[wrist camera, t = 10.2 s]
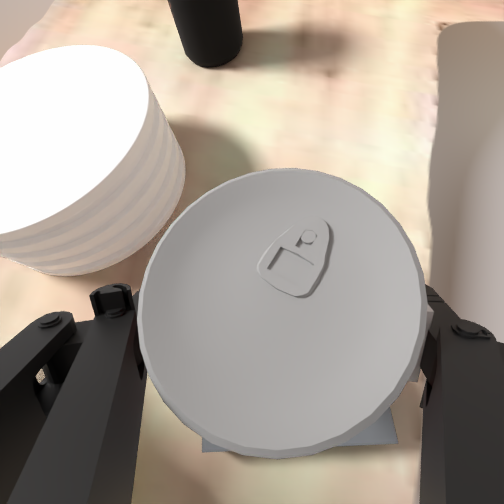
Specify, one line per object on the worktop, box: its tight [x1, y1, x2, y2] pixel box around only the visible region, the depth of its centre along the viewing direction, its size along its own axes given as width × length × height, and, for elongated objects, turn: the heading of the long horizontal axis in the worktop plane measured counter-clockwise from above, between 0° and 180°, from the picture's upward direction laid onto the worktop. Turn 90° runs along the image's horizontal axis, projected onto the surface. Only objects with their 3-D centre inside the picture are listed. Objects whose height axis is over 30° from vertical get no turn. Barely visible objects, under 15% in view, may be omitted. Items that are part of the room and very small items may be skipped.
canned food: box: [137, 168, 428, 459], centre depth 12 cm, size 8×8×11 cm
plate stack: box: [0, 45, 186, 276], centre depth 36 cm, size 28×28×12 cm
